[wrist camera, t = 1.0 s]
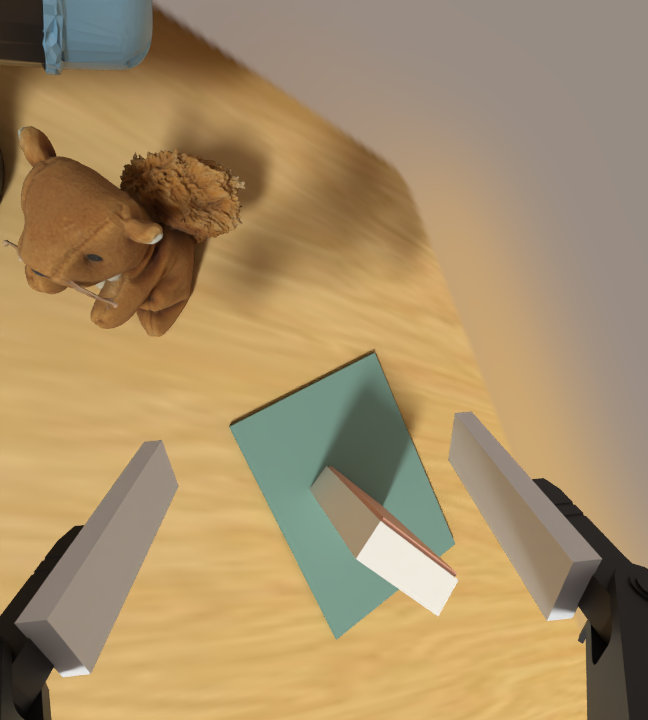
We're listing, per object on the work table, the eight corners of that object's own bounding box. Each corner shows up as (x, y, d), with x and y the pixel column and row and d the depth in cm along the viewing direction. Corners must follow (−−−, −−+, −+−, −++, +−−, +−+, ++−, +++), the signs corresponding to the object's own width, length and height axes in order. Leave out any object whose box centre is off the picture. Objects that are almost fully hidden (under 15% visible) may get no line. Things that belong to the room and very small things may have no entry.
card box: (309, 489, 29) (355, 559, 19) (328, 463, 30) (383, 516, 20) (366, 531, 31) (438, 616, 21) (383, 506, 32) (460, 576, 21)
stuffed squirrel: (32, 270, 23) (-189, 164, 11) (166, 157, 26) (113, -29, 14) (144, 355, 26) (67, 349, 13) (255, 242, 29) (279, 149, 16)
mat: (229, 426, 28) (229, 427, 27) (372, 353, 32) (374, 352, 32) (334, 635, 31) (336, 639, 30) (452, 541, 35) (455, 544, 35)
